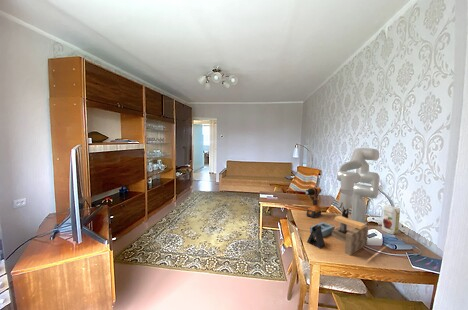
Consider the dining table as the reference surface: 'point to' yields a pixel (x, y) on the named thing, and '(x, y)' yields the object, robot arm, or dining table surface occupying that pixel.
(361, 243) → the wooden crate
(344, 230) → the drill bit
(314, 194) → the power drill
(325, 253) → the dining table surface
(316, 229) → the black a-frame stand
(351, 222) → the bar
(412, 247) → the dining table surface
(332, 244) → the dining table surface
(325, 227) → the rack
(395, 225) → the juice carton
